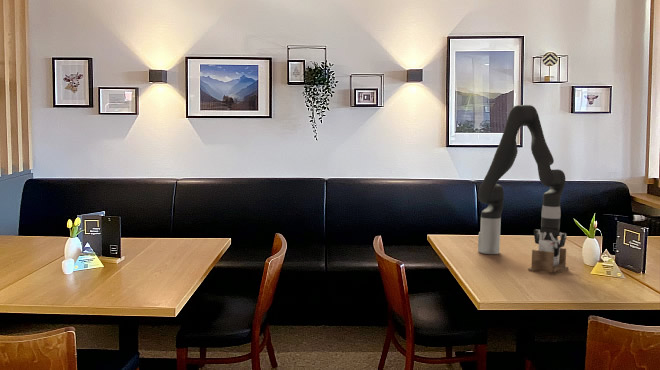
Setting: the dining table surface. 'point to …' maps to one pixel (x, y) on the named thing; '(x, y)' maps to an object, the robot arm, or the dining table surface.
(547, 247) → the ink box
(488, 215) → the robot arm
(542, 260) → the holder
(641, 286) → the dining table surface
